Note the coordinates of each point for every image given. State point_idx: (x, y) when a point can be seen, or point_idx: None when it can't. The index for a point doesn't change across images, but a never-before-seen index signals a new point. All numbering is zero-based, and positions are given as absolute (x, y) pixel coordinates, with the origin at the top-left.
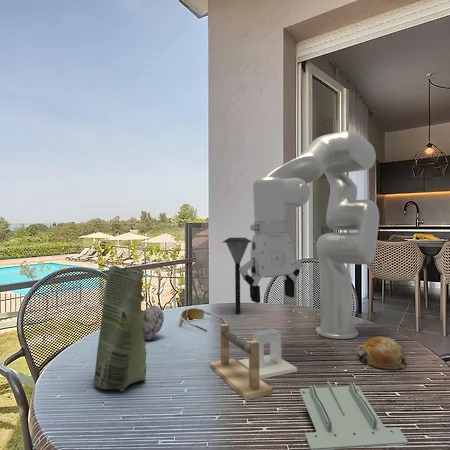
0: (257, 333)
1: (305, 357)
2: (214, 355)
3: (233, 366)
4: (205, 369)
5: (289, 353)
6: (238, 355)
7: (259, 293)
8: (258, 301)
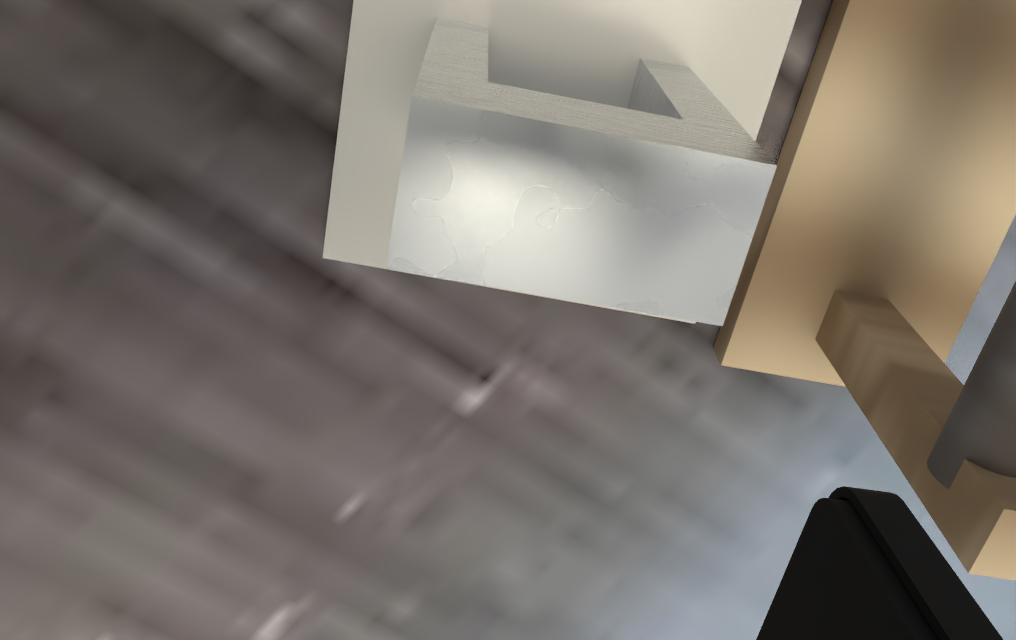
0: (735, 232)
1: (40, 56)
2: (711, 539)
3: (848, 227)
4: (971, 364)
5: (121, 230)
6: (557, 443)
7: (955, 638)
8: (892, 500)
